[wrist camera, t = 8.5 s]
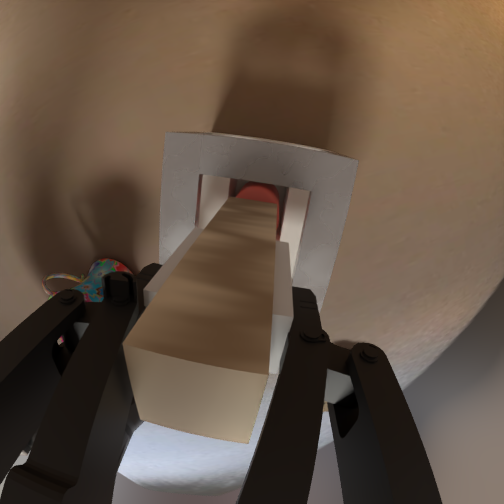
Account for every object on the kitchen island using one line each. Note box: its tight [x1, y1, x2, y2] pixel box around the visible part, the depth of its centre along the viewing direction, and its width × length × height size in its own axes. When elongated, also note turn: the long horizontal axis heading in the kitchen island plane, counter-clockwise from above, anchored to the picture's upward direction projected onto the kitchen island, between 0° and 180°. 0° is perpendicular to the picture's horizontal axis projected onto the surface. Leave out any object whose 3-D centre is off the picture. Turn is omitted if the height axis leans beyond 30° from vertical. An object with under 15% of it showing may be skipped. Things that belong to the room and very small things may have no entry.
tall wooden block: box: [122, 197, 277, 444], centre depth 14 cm, size 4×4×16 cm
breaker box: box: [198, 132, 335, 278], centre depth 27 cm, size 12×12×6 cm
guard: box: [159, 132, 359, 313], centre depth 21 cm, size 12×12×6 cm
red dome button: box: [236, 181, 279, 230], centre depth 25 cm, size 4×4×8 cm
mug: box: [42, 258, 132, 342], centre depth 31 cm, size 12×9×11 cm
